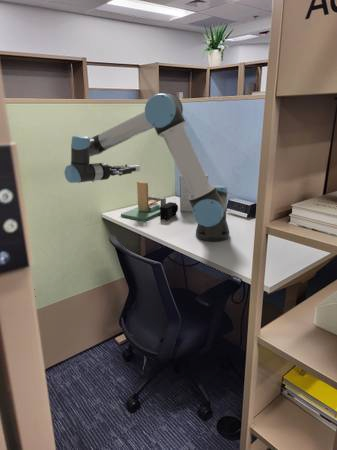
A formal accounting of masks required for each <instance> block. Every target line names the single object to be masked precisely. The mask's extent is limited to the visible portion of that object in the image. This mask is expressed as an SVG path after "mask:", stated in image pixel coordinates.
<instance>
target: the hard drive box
mask: <svg viewBox="0 0 337 450" xmlns="http://www.w3.org/2000/svg"><path fill="white" fill-rule="evenodd" d="M205 175H206V178H207V180H208V181H209V174H208V173H205ZM189 196H190V193H189V190H188V188H187V186H186V184H185V182H184V180H183V178H182V176H181V174H180V175H179V202H180V203H179V206H180V207H179V210H180V211H179V212H193V208H192V206H191V203H190V201H189V199H188V198H189Z"/></svg>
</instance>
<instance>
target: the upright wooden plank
mask: <svg viewBox="0 0 337 450" xmlns="http://www.w3.org/2000/svg"><path fill="white" fill-rule="evenodd" d="M136 185H137V186H136V187H137V192H136V193H137V207H138V211H143V212H149V205H151V204H153V203H158V202H161V200H156V199H152V200H150V201H148V197H149V183H148V182H146V181H136Z"/></svg>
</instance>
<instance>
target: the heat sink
mask: <svg viewBox="0 0 337 450" xmlns="http://www.w3.org/2000/svg"><path fill="white" fill-rule="evenodd" d="M159 205H160V203H158V202H156V203H153V204H151V205H149V212H152V211H155V210H157V209H159Z"/></svg>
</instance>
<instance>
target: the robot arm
mask: <svg viewBox="0 0 337 450" xmlns="http://www.w3.org/2000/svg"><path fill="white" fill-rule="evenodd" d="M183 110H184V109H183V104H182V101H181V100H180V98H179V97H178V96H177V95H175V94H171V93H164V92H161V93H160V92H159V93H157V94H154V95H152V96H150V98H149V99H147V102H146V103H145V106H144V111H143V112H141V113H139V114H136V115H134V116H133V117H130V118H129V119H127V120H124V121H123V122H120V123H118V124H117V125H115V126H113V127H110V128H109V129H107V130H105V131H103V132H101V133H99V134H96V135H94V136H93V137H89V136H86V135H83V134H82V135H79V134H75V135H73V136H72V137H71V144H70V156H71V157H70V161H71V162H70V164H68V165H66V166H65V169H64V177H65V179H66V180H67V182H68V183H70V184H75V183H79V184H80V183H85V182H92V183H95V181H105V180H108V179H109V178H110V177H111V176H113V177H114V176H116V175H118V176H120V177H121V176H124V175H128V174H129V175H130V174H132V173H135V172H141V169H140V168H141V165H139V164H138V165H128V164H125V165H123V164H122V165H109V164H108V163H107V162H99V163H97V162H96V163H90V158H91V157H93V156H96V155H100V154H102V153H104V152H105V151H107V150H110V149H112V148H113V147H116V146H118V145H120V144H122V143H124V142H127V141H128V140H131V139H133V138H135V137H137V136H140V135H141V134H144V133H146V132H148V131H151V130H152V129H154V130H155V132H156V135H157V136H158V137H160V138H163V140H164V142H165V144H166V146H167V149H168V150H169V153H170V154H171V157H172V159H173V160H174V163H175V165H176V168H177V169H178V171H179V173H180V174H181V176H182V178H183V180H184V182H185V184H186V186H187V188H188V190H189V193H190V196H189V198H188V199H189V201H190V203H191V206H192V208H193V211H192V217H193V220H195V222H196V223H197V226H196V229H195V236H196V238H197V239H199V240H202V241H206V242H221V241H225V240H228V239H229V237H230V228H229V225H228V222H227V209H228V208H227V204H228V203H227V202H228V194H229V193H228V188H227V186H224V185H216V184H215V185H213V184H210V182H209V179H208V180H207V178H206V175H205V174H206V173H205V171H204V169H203V167H202V164H201V162H200V161H199V158H198V157H197V153H196V151H195V150H194V146H193V145H192V142H191V140H190V139H189V137H188V135H187V132H186V130H185V124H186V120H185V118H184V116H183Z"/></svg>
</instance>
